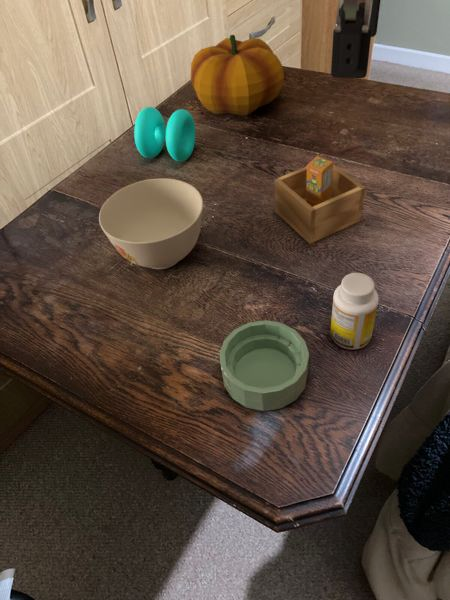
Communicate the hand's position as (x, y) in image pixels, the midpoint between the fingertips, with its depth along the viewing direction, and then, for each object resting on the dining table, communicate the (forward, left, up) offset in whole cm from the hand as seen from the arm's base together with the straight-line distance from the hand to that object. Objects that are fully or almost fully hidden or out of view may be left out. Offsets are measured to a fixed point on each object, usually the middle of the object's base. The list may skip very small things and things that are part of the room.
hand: (354, 54), depth 49 cm
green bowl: (+16, +7, -34) cm, 38 cm away
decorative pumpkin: (-19, -61, -34) cm, 72 cm away
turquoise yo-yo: (+4, -50, -34) cm, 61 cm away
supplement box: (-9, -16, -33) cm, 38 cm away
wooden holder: (-9, -16, -34) cm, 39 cm away
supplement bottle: (+3, +8, -34) cm, 35 cm away
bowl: (+18, -22, -34) cm, 45 cm away
